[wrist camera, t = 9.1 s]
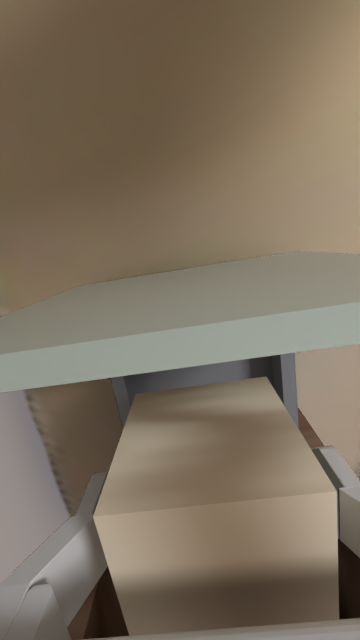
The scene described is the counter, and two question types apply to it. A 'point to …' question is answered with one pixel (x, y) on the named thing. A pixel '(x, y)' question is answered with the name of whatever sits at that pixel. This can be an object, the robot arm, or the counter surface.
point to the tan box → (107, 618)
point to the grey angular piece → (187, 327)
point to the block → (218, 513)
